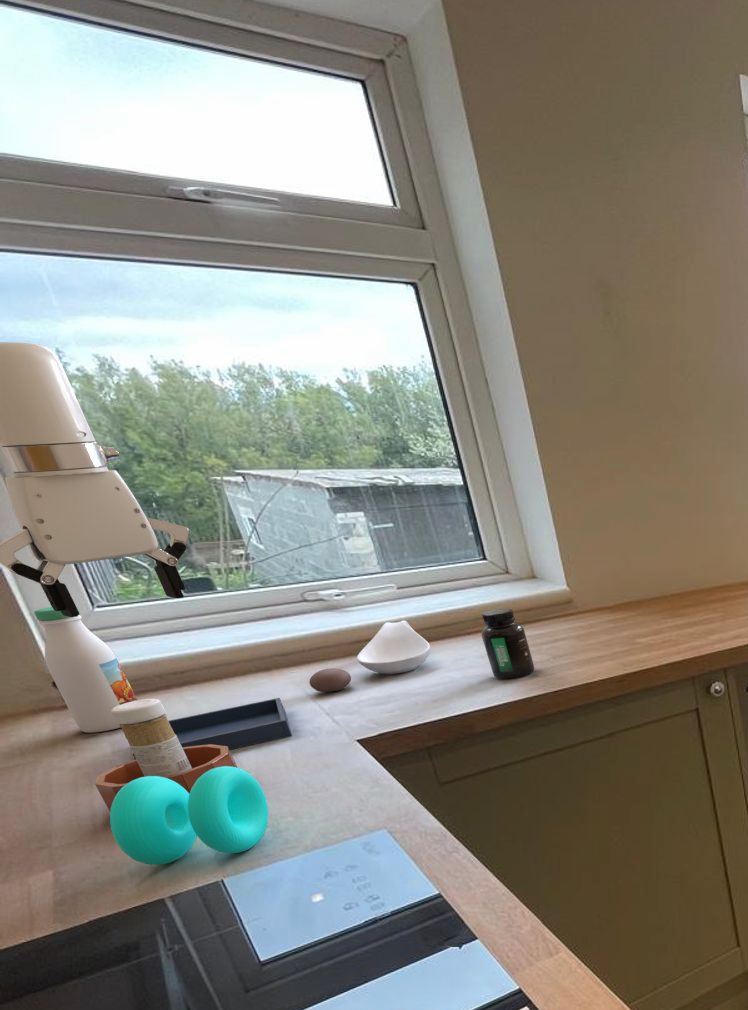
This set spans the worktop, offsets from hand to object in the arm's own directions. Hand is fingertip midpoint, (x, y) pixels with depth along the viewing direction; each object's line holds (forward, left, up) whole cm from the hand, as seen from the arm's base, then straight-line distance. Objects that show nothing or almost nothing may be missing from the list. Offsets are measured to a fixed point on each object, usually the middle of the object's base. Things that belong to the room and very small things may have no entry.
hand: (125, 606), depth 100 cm
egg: (+17, +39, -25) cm, 49 cm away
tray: (+1, +24, -25) cm, 35 cm away
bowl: (-3, -1, -25) cm, 25 cm away
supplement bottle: (+43, +23, -25) cm, 55 cm away
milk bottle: (-12, +47, -25) cm, 55 cm away
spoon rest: (+29, +50, -25) cm, 63 cm away
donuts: (0, -24, -25) cm, 35 cm away
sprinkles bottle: (-3, -1, -25) cm, 26 cm away
